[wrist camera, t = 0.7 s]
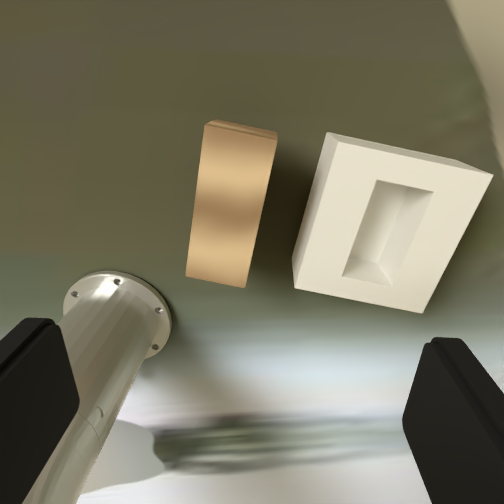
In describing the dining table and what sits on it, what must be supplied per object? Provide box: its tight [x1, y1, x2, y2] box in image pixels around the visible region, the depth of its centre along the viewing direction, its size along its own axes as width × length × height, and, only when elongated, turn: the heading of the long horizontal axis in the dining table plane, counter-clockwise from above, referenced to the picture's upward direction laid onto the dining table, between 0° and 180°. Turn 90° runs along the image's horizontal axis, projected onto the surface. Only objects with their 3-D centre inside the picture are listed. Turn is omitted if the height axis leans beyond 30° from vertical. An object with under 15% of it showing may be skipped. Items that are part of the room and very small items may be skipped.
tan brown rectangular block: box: [185, 119, 278, 288], centre depth 29 cm, size 12×5×8 cm, turn 169°
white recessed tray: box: [292, 132, 493, 313], centre depth 31 cm, size 13×12×6 cm
